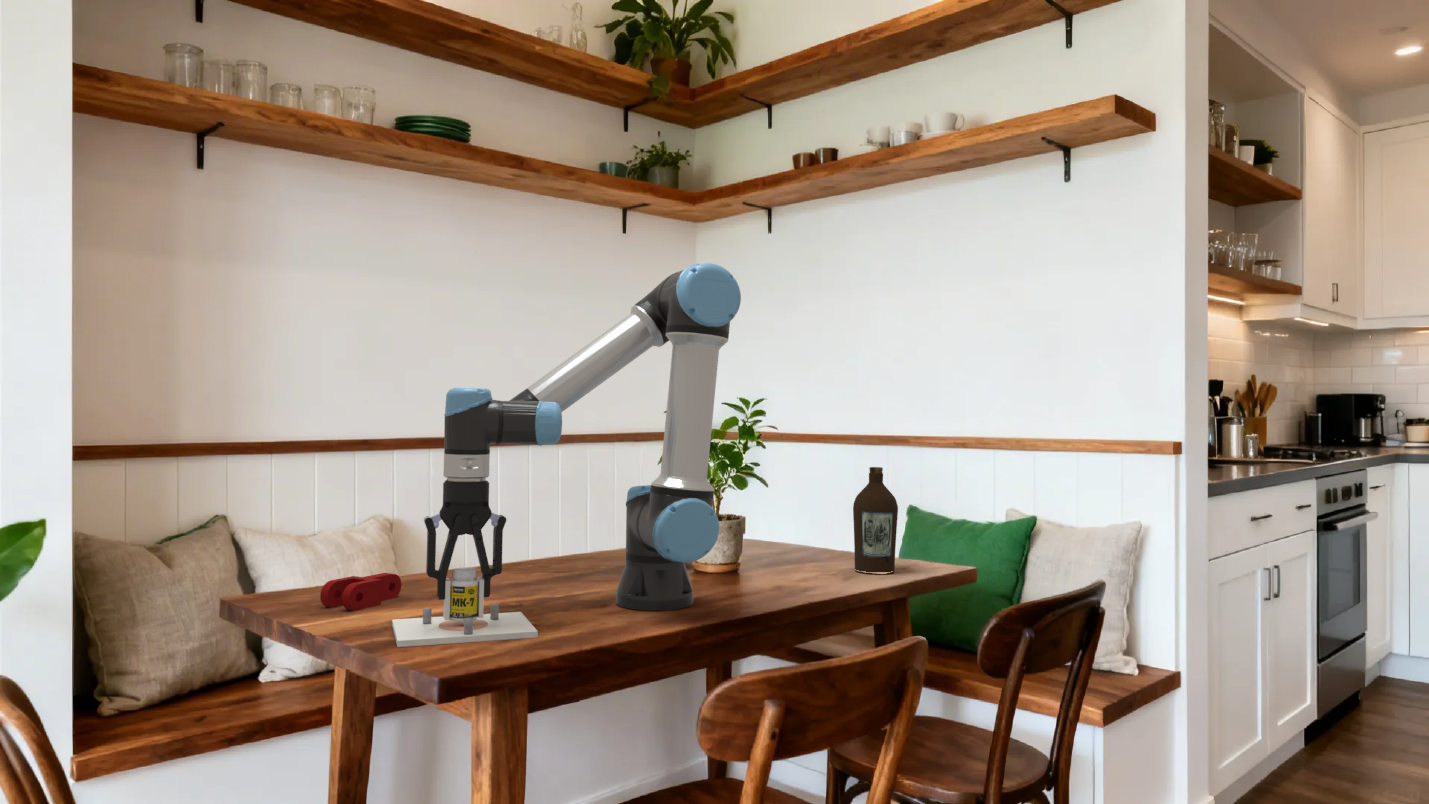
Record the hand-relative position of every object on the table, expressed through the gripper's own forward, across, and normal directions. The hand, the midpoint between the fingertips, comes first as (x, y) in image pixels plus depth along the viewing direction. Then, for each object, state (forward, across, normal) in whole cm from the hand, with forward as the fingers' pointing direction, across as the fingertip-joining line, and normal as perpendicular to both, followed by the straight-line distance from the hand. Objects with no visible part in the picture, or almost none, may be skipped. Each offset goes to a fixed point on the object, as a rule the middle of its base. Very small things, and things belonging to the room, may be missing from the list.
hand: (463, 617), depth 161 cm
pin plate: (+2, 0, 0) cm, 2 cm away
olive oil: (+2, +100, +34) cm, 106 cm away
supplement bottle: (+1, 0, 0) cm, 1 cm away
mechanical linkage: (+3, -14, +30) cm, 33 cm away
